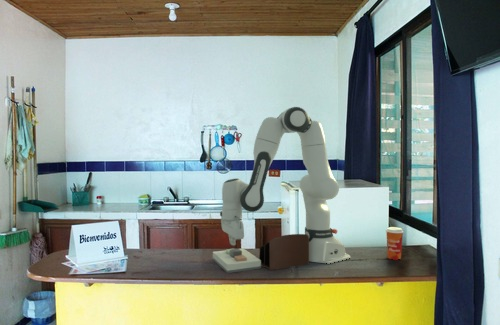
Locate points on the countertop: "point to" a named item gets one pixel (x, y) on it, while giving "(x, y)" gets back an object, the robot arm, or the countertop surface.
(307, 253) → the letter holder
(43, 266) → the countertop surface
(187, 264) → the countertop surface
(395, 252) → the paper cup
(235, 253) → the charcoal key
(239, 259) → the terracotta key
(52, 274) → the countertop surface
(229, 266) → the cream key base
